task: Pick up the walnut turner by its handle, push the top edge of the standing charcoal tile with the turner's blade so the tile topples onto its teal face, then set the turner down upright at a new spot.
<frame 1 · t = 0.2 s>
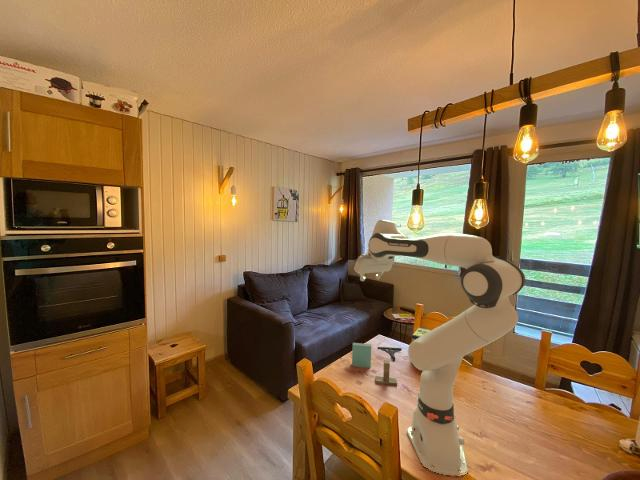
hand: (369, 279, 125), 51 cm above the table, tool tilted 20°, fingers open, 8 cm apart
tile: (361, 365, 144), on the table
protein box: (423, 359, 153), on the table
bracket: (391, 355, 157), on the table
turner: (386, 382, 130), on the table
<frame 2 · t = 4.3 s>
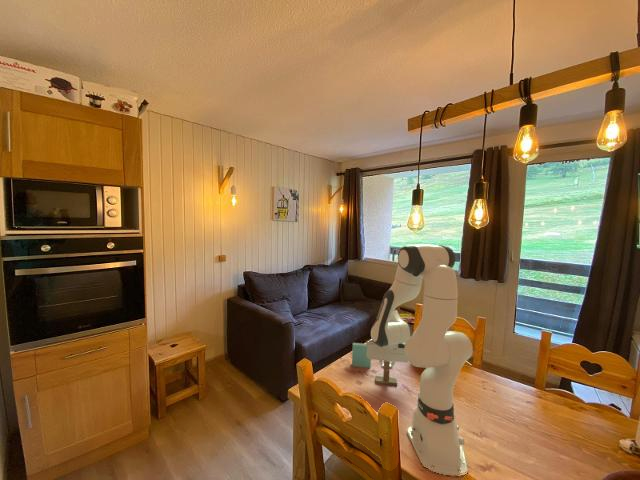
hand: (386, 368, 129), 7 cm above the table, tool pointing down, fingers closed on turner, 2 cm apart
turner: (386, 382, 130), on the table, touching gripper
everything else where it was.
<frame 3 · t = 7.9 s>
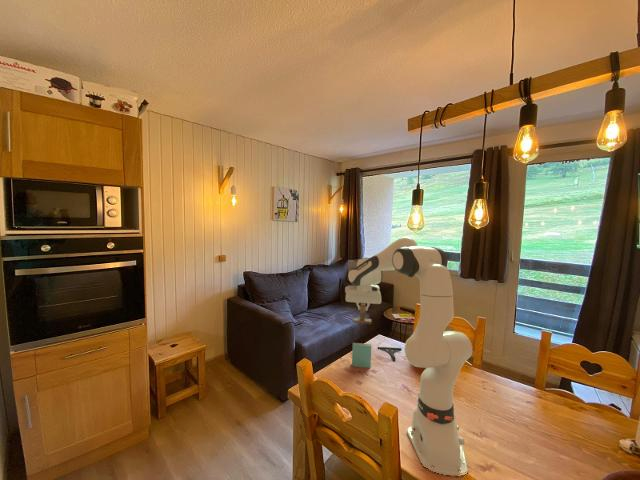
hand: (362, 310, 150), 28 cm above the table, tool pointing down, fingers closed on turner, 2 cm apart
turner: (362, 322, 151), point 21 cm above the table, touching gripper
everything else where it was.
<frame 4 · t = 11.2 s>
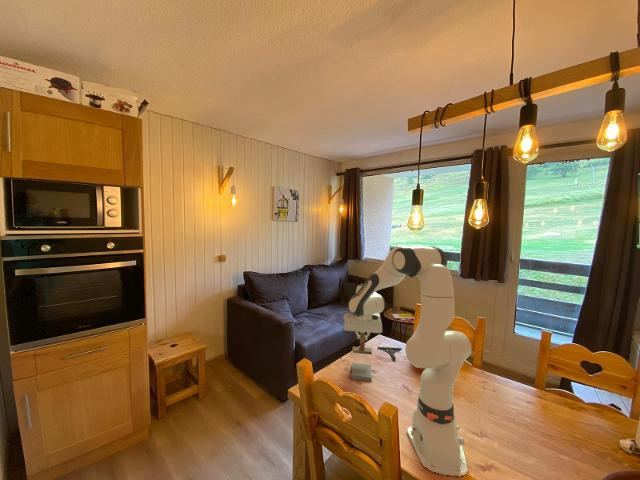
hand: (362, 339, 141), 16 cm above the table, tool pointing down, fingers closed on turner, 2 cm apart
tile: (361, 365, 143), point 1 cm above the table, tilted 90°
turner: (362, 351, 142), point 9 cm above the table, touching gripper
everything else where it was.
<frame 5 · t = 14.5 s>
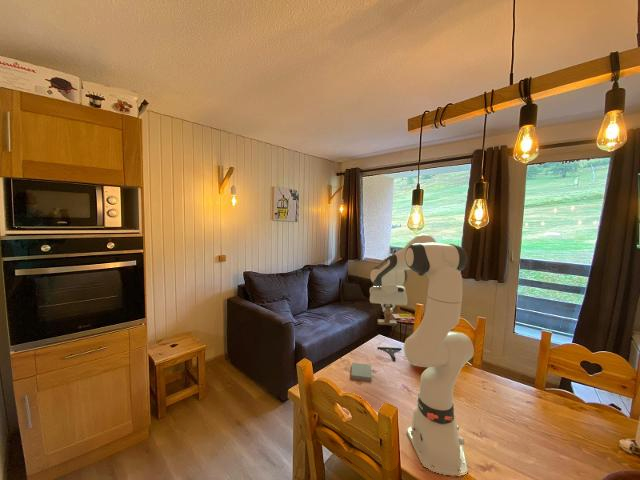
hand: (387, 311, 146), 29 cm above the table, tool pointing down, fingers closed on turner, 2 cm apart
turner: (387, 323, 147), point 22 cm above the table, touching gripper
everything else where it was.
when the fingers open (8 cm above the table, at t = 17.6 s): turner stays where it is, on the table.
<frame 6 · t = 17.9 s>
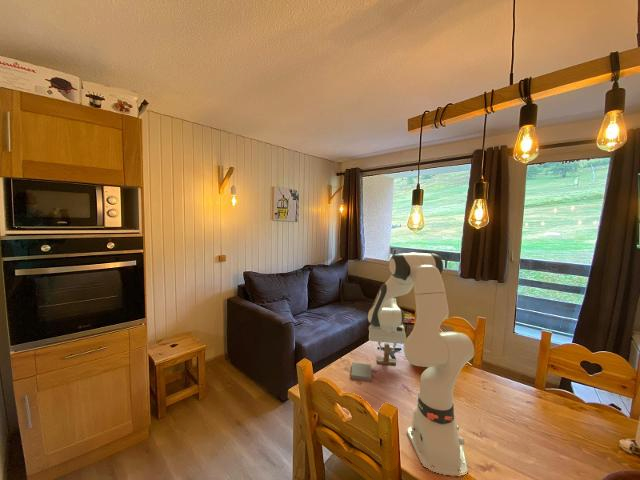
hand: (386, 349, 148), 8 cm above the table, tool pointing down, fingers open, 5 cm apart
turner: (386, 362, 148), on the table
everything else where it was.
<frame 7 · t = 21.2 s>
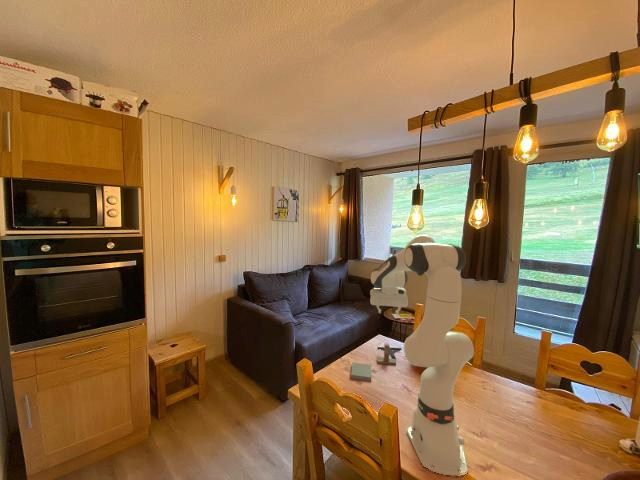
hand: (388, 313, 146), 28 cm above the table, tool pointing down, fingers open, 8 cm apart
nothing on the table moved.
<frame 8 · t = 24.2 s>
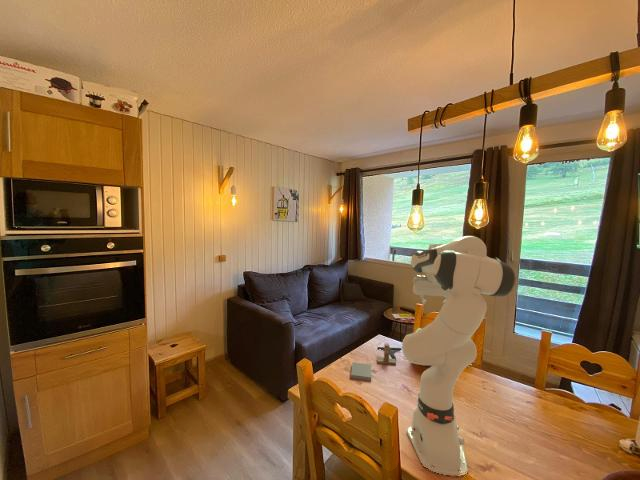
hand: (434, 304, 129), 39 cm above the table, tool pointing down, fingers open, 8 cm apart
nothing on the table moved.
at the end: tile tilted 90°; turner inside the target area (0.1 cm from its centre), on the table; turner tilted 0° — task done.
